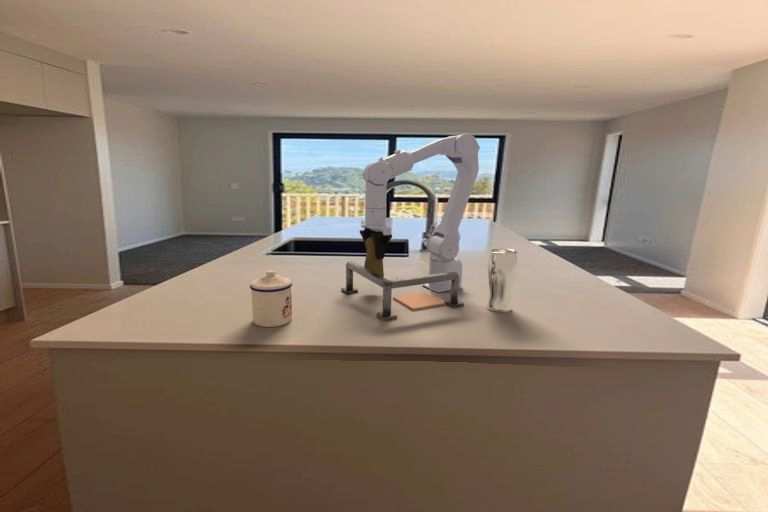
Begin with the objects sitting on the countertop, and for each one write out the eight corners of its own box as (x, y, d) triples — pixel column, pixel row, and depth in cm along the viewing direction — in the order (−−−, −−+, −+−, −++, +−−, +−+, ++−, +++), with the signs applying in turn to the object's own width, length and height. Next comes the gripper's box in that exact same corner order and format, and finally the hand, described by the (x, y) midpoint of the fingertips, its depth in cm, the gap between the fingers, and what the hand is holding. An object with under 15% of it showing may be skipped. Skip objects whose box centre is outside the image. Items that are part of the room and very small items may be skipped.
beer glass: (498, 314, 96) (503, 255, 93) (479, 305, 102) (483, 249, 99) (519, 310, 99) (524, 252, 96) (499, 302, 105) (504, 247, 102)
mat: (423, 294, 111) (423, 291, 111) (445, 304, 103) (445, 302, 102) (393, 298, 106) (393, 296, 106) (412, 310, 98) (413, 308, 98)
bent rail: (410, 280, 124) (411, 253, 122) (463, 306, 102) (465, 273, 100) (341, 290, 113) (341, 260, 111) (383, 321, 91) (384, 284, 89)
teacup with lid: (291, 327, 86) (290, 276, 84) (248, 329, 85) (245, 277, 82) (295, 308, 98) (293, 263, 95) (257, 309, 96) (254, 263, 94)
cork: (380, 280, 107) (382, 240, 104) (359, 277, 108) (361, 237, 106) (386, 274, 112) (388, 236, 110) (366, 272, 114) (368, 234, 112)
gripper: (351, 205, 111) (351, 253, 114) (374, 211, 98) (373, 263, 101) (373, 205, 114) (373, 251, 117) (398, 210, 102) (397, 261, 104)
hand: (375, 256), depth 109 cm, fingers closed on cork, 5 cm apart
